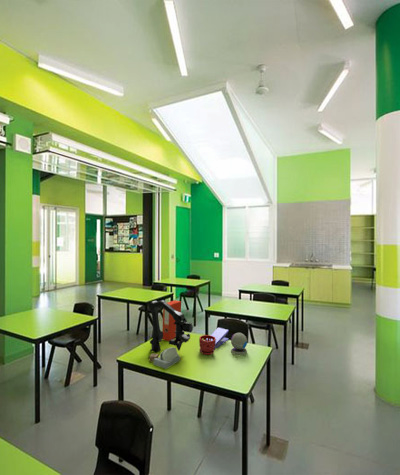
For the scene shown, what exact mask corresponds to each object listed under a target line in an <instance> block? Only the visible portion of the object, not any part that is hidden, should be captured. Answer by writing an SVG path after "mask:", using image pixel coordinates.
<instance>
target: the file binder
mask: <svg viewBox="0 0 400 475" xmlns="http://www.w3.org/2000/svg"><path fill="white" fill-rule="evenodd" d="M166 303H167V304H169V305H170V306H171V307H172V308H173V309H175V310H176V311H178V312H181V313H182V301H180V300H176V299H175V300H171V301H169V302H166ZM174 322H175V320H174V319H173V316H172V315H171V314H170V313H168V312H167V311H166V310H165V309H164V308H162V328H161V329H162V330H161V332H162V331H163V335H164V336H163V339H162V340H163V341H168V342H169V340H171V339H175V338H174V337H176V333H175V331H176V324H173V323H174Z"/></svg>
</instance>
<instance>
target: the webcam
mask: <svg viewBox="0 0 400 475" xmlns="http://www.w3.org/2000/svg"><path fill="white" fill-rule="evenodd" d="M230 342H231V345H232V348H231V349H230V352H231V353H232V354H234V355H235V356H236V355H237V356H242V355H243V354H244V355H246V354H248V350H247V348H246V346H247V345H248V339H247V336H246V335H245V334H244V333H242V332H236V333H234V334H232V336H231V338H230ZM244 355H243V356H244Z"/></svg>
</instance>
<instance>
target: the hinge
mask: <svg viewBox="0 0 400 475" xmlns="http://www.w3.org/2000/svg"><path fill="white" fill-rule="evenodd" d="M177 356H180V355H179V353H178V349H177V347H175V346H174V347H168V348H165V349H164V350H162V352H160V354H159V357H160V360H163V361H166V362H168V361H170V360H171V359H173V358H175V357H177Z"/></svg>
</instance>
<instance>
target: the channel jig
mask: <svg viewBox="0 0 400 475" xmlns="http://www.w3.org/2000/svg"><path fill="white" fill-rule="evenodd" d="M180 361H181V356H180V355H179V356H177V357H175V358H173V359H171V360H170V361H168V362H166V361H163V360H160V356H159V357H158V358H155V359H154V362H153V365H154V366H156V367H160V368H163V369H165V370H166V369H169V368H170V367H172V366H173V365H175V364H176V363H178V362H180Z"/></svg>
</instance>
